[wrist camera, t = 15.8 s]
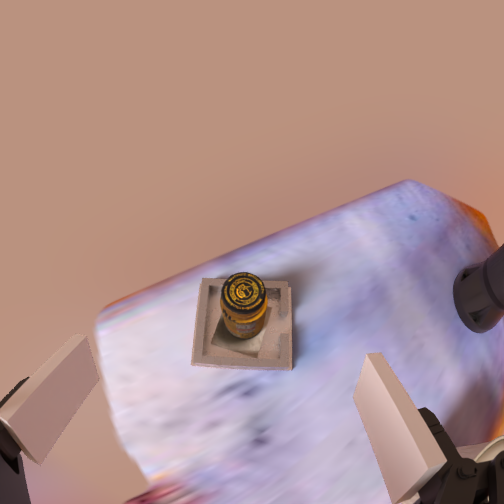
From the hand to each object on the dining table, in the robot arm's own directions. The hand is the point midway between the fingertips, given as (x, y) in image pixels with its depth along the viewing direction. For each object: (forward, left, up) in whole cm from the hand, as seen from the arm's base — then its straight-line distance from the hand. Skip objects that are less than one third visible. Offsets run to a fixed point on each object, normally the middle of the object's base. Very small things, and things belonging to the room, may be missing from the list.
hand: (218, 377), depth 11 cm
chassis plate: (0, -11, -30) cm, 31 cm away
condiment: (0, -11, -29) cm, 31 cm away
